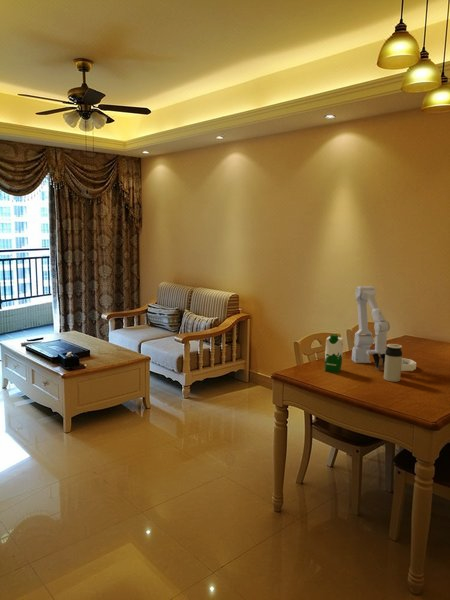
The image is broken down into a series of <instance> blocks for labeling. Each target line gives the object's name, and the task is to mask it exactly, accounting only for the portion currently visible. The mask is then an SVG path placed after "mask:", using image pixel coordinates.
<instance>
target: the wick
mask: <svg viewBox="0 0 450 600" xmlns="http://www.w3.org/2000/svg"><path fill="white" fill-rule="evenodd" d="M382 365H383V358H381V357H379V362H378V368H377V367H375V370H377V371H378V372H383V368H382ZM383 366H384V365H383Z"/></svg>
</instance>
